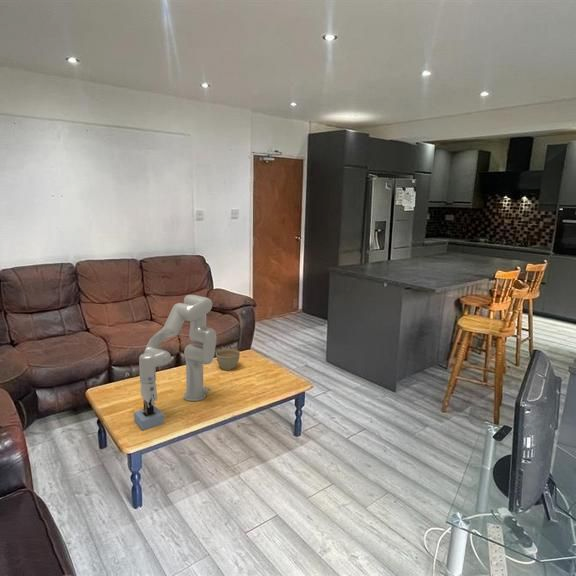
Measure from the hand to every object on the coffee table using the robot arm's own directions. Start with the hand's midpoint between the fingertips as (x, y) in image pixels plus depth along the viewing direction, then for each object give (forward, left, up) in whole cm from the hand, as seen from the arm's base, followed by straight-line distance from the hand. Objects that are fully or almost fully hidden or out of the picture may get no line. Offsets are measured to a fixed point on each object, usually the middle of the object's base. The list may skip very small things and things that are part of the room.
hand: (148, 411), depth 208 cm
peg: (0, 0, -4) cm, 4 cm away
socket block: (0, 0, -6) cm, 6 cm away
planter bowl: (-70, -37, -6) cm, 79 cm away
